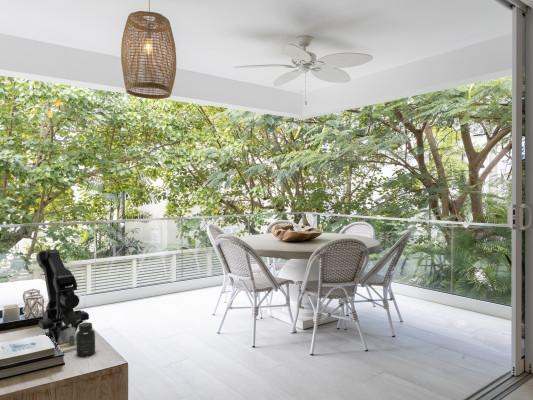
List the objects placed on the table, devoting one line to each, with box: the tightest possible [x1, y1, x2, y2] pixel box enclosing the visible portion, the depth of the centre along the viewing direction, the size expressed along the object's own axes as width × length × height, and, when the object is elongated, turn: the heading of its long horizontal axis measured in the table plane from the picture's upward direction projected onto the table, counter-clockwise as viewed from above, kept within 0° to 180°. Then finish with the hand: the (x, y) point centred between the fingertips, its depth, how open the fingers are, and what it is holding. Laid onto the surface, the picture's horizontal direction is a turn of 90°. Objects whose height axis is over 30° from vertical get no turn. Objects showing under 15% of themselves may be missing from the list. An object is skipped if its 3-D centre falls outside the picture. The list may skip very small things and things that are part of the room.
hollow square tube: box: [56, 324, 76, 346], centre depth 179 cm, size 6×6×6 cm
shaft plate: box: [59, 335, 77, 353], centre depth 174 cm, size 7×10×5 cm
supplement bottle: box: [75, 322, 96, 358], centre depth 167 cm, size 7×7×12 cm
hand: (64, 339), depth 179 cm, fingers closed on hollow square tube, 6 cm apart
